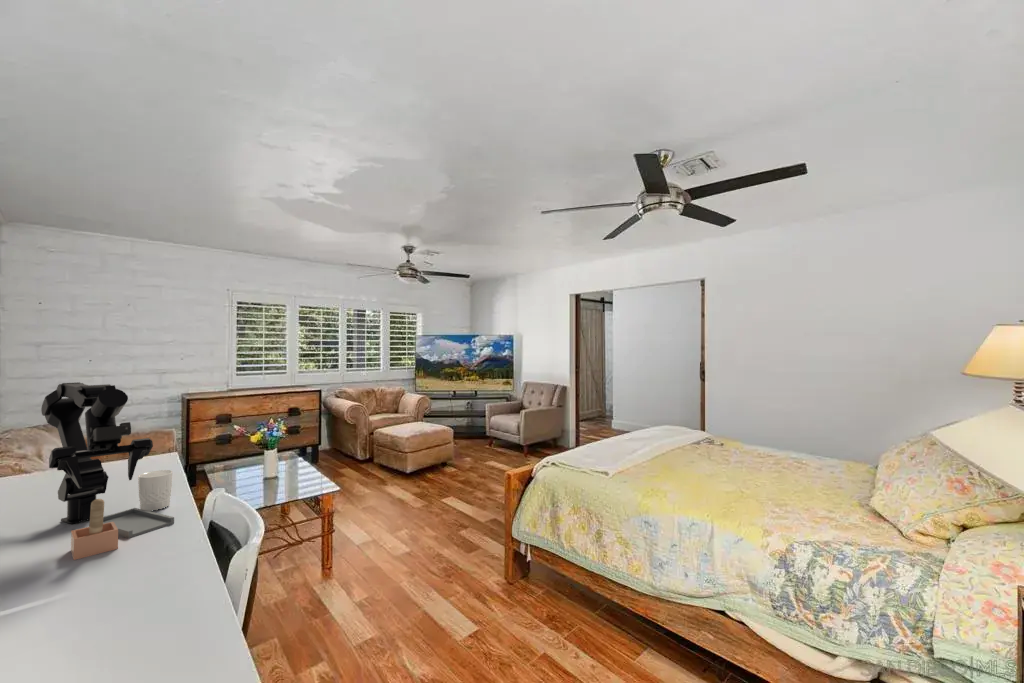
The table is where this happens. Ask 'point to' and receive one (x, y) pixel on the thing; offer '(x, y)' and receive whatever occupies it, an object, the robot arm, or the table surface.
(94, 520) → the birch dowel
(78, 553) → the terracotta box
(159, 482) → the white cup
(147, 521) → the slate tray
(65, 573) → the table surface
